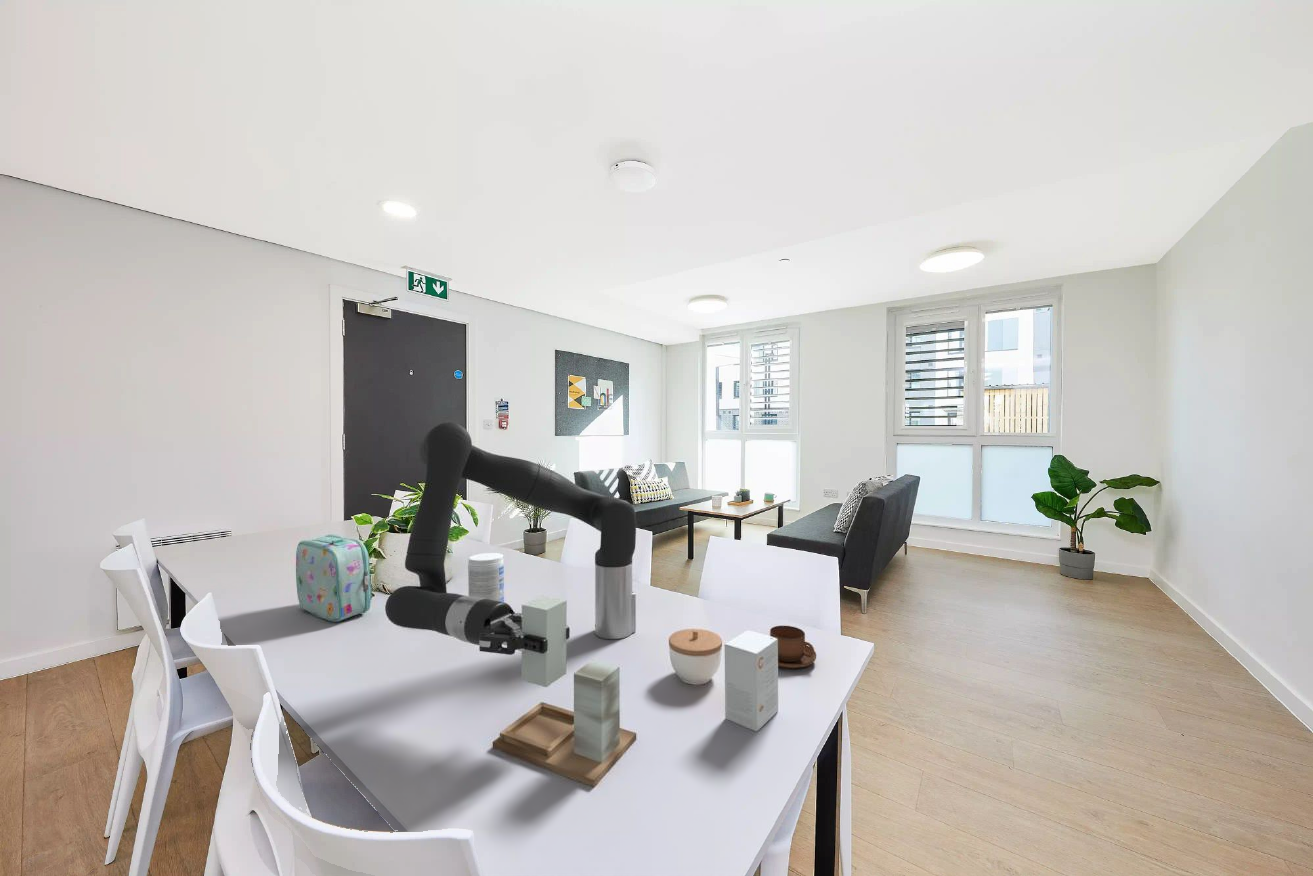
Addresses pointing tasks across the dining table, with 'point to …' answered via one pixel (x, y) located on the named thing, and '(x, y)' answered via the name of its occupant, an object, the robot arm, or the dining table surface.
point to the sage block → (549, 623)
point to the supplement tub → (486, 576)
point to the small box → (751, 679)
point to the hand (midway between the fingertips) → (557, 639)
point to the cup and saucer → (792, 647)
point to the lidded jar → (695, 655)
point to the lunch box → (333, 577)
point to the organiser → (574, 729)
